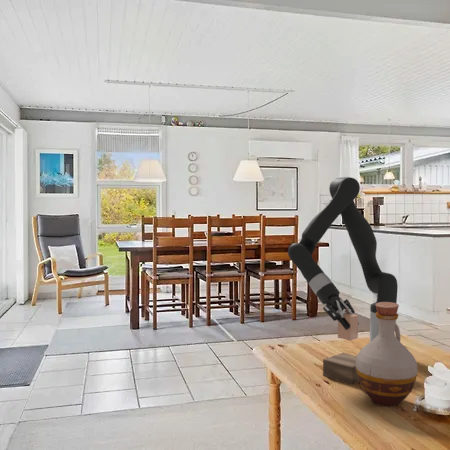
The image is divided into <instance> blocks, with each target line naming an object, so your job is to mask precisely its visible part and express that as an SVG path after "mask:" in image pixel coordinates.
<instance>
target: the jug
mask: <svg viewBox="0 0 450 450" xmlns="http://www.w3.org/2000/svg"><path fill="white" fill-rule="evenodd" d="M375 305H376V309H377V312H376V317H377V319H378V325H379V333H378V335H377V336H376V337H375V338H374V339H373V340H372V341H371V342H370V341H369V342H368V343H367V344H366V345H365V346H363V347H362V348H361V349H360V351H359V352H358V353H357V355H356V356H357V358H356V371H357V376H358V379H359V382H358V383H359V384H360V387H361V388H362V389H363V391H364V392H365V394H366V395H367V396H368V398H369V400H370V401H371V402H372V403H373V404H375V405H377V406H380V407H385V408H386V407H387V408H394V407H398V406H399V405H400V404H401V403H402V402H403V401H405V399H406V398H407V397H408V396H410V394H411V393H412V391H413V389H414V386H415V384H416V380H417V377H418V363H417V361H416V358H415V356H414V354H413V353H412V352H411V351H409V349H408V348H407V347H406V346H405V345H403V343H402V342H401V331H400V330H401V329H400V328H399V325H398V324H397V319H398V318H399V314H398V310H399V307H400V305H399V304H398V303H393V302H379V303H376V304H375Z"/></svg>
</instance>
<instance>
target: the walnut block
mask: <svg viewBox="0 0 450 450" xmlns="http://www.w3.org/2000/svg"><path fill="white" fill-rule="evenodd" d="M356 358H357V355H353V354H349V353H346V352H342V353H341V352H340V353H338V354H335V355H333V356H329V357H326V358H323V360H322V361H323V364H322V367H323V368H322V376H324V377H326V378H330V379H334V380H335V381H336V380H337V381H340V382H343V383H346V384H348V385H352V386H353V385H355V384H357V383H360V382H359V379H358V376H357V371H356Z"/></svg>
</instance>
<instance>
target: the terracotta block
mask: <svg viewBox="0 0 450 450" xmlns="http://www.w3.org/2000/svg"><path fill="white" fill-rule="evenodd" d="M343 316H344V317H343V318H345V319H346V320H347V322H348V323H349V324H350V326H351V327H350V328H349V329H347V330H345V328H344V327H343V326H342V324H341V323H340V322H339V321H337V338H338V339H342V340H347V341H353V340H357V339H358V338H359V325H358V323H359V315H358V314H355V313H354V314H348V313H347V312H346V313H344V314H343Z"/></svg>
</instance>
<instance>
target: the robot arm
mask: <svg viewBox="0 0 450 450" xmlns="http://www.w3.org/2000/svg"><path fill="white" fill-rule="evenodd" d="M360 190H361V185H360V182H359V181H358V180H357V179H356V178H355V177H354V178H353V177H349V176H344V177H336V178H333V180H331V182H330V184H329V189H328V191H329V194H330V196H331V200H330V202H329V203H328V204H327V205H326V206H325V207H324V208H323V209H321V210H320V212H318V213H317V214H316V215H314V217H313V218H312V219H311V220H310V222H309V223H308V225H307V226H306V227H305V229H304V230H303V231H302V233H301V239H300V241H299V242H294V243H291V244H290V245H289V246H288V249H287V255H288V257H289V259H290V261H291V262H292V263H293V264H294V266H296V268H297V269H298V270H299V271H300V273H301V275H302V276H303V279H305V281H306V282H307V283H308V285H309V287H310V288H311V290H312V291H313V293H314V294H315V296H316V297H317V299H318V300H319V301H320V302H321V304H322V305H324V306H323V308H322V309H323V310H324V312H325V313H327V315H328V316H329V317H330V318H331V319H332V321H337V322H338V321H339V322H340V323H341V324H342V326H343V327H344V328H345V330H347V329H349V328H350V327H351V326H350V324H349V323H348V322H347V320H346V319H345V318H343V317H344V316H343V314H344V313H348V314H354V315H355V313H356V311H355V309H354V307H353V306H352V304H351V303H350V301H349V299H344V300H343V299H342V298H341V297H340V294H341V293H340V290H339V289H338V288H337V286H336V285H335V284H334V282H333V281H332V280H331V279H330V277H329V276H328V275H327V274H326V273H325V272H324V270H323V269H322V268H321V267H320V265H318V263H317V262H316V261H315V260H314V258H313V257H312V255H313V253H314V251H315V249H316V248H317V245H318V244H319V242H320V241H321V240H322V238H323V237H324V236H325V234H326V232H327V231H328V230H329V228H330V227H331V225H332V224H333V223H334V221H335V220H337V218H338V217H339V216H341V219H342V221H343V224H344V227H345V228H346V231H347V234H348V237H349V239H350V242H351V244H352V246H353V249H354V251H355V254H356V256H357V258H358V261H359V264H360V266H361V268H362V273H363V276H364V280H365V283H366V286H367V288H368V290H369V291H370V292H371V293H373V294H376V296H377V297H376V301H375V302H373V303H371V304H370V306H369V308H370V309H369V311H370V313H369V314H370V315H369V317H370V318H369V319H370V320H369V343H370V342H371V341H372V340H373V339H374V338H375V337H376V336H377V335H378V333H379V325H378V319H377V317H376V312H377V309H376V305H375V304H376V303H379V302H393V303H397V301H398V287H399V286H398V285H399V284H398V280H397V278H396V276H395V275H394V274H392V273H388V272H384V271H382V270H381V268H380V266H379V264H378V261H377V256H376V255H377V246H378V245H377V243H378V242H377V238H376V236H375V233H374V230H373V228H372V226H371V224H370V223H369V222H368V220H367V219H366V217H365V216H364V215H363V214H362V213H361V212H360V210H359V209H358V207H357V206H356V203H355V199H356V198H357V197H358V195H359V194H360ZM397 304H398V303H397ZM359 325H360V323H359V322H358V326H359Z"/></svg>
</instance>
